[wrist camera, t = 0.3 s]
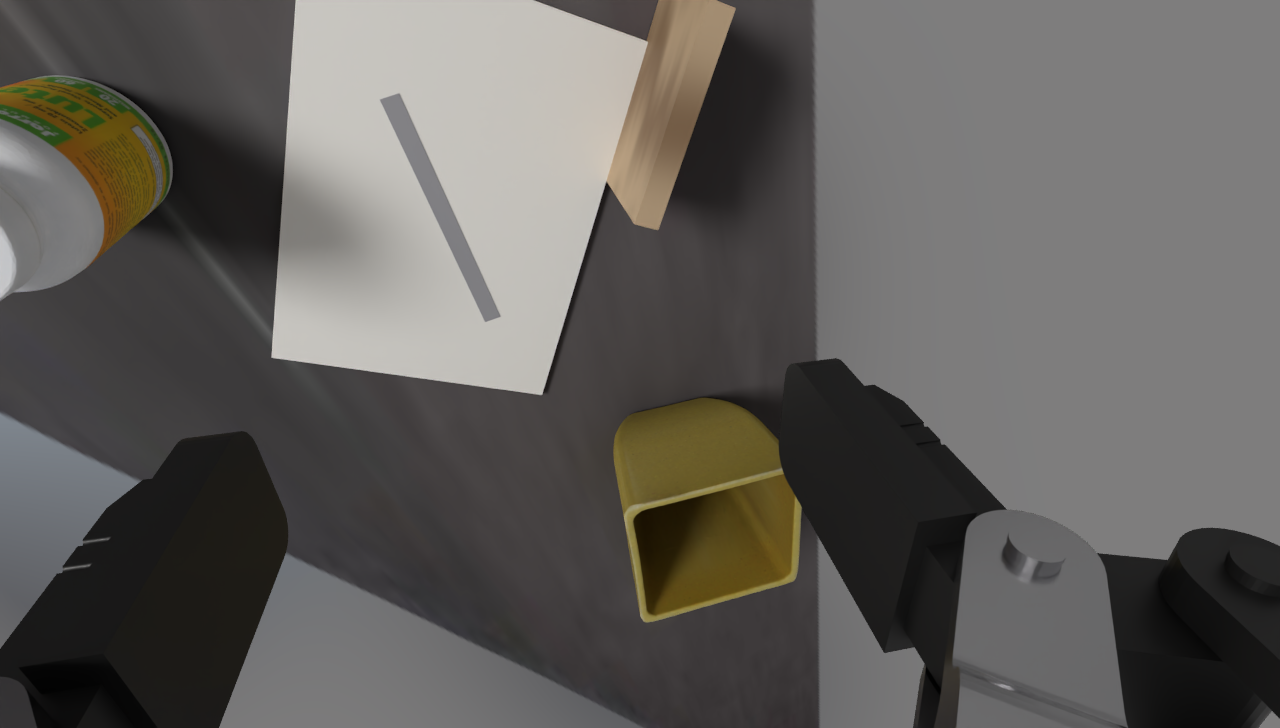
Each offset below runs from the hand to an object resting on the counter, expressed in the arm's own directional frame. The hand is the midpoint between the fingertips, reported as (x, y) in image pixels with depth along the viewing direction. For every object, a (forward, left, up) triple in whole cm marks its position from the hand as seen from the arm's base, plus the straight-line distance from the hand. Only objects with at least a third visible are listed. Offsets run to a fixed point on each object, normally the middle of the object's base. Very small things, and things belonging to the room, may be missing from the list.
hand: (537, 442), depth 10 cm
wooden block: (-3, +6, -21) cm, 22 cm away
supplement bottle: (+5, -14, -22) cm, 26 cm away
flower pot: (+15, +14, -22) cm, 30 cm away
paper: (+4, -1, -21) cm, 22 cm away
